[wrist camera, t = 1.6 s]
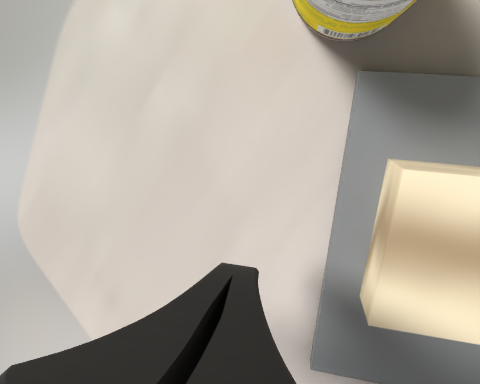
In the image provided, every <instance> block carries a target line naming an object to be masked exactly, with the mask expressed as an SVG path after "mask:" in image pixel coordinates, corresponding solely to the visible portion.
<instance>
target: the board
mask: <svg viewBox="0 0 480 384" xmlns="http://www.w3.org/2000/svg"><path fill="white" fill-rule="evenodd" d="M388 159H398V160H409V161H420V162H431V163H442V164H453V165H464V166H475V167H480V76H462V75H441V74H420V73H399V72H378V71H358V72H357V77H356V83H355V89H354V96H353V102H352V108H351V114H350V120H349V126H348V132H347V138H346V145H345V151H344V157H343V163H342V169H341V175H340V181H339V187H338V193H337V200H336V206H335V212H334V218H333V224H332V230H331V236H330V242H329V249H328V255H327V261H326V267H325V273H324V279H323V285H322V291H321V297H320V304H319V310H318V316H317V322H316V328H315V334H314V340H313V346H312V353H311V359H310V365H311V370H315V371H320V372H325V373H330V374H335V375H340V376H345V377H350V378H355V379H360V380H365V381H370V382H375V383H380V384H480V345H478V344H472V343H467V342H461V341H455V340H449V339H444V338H438V337H432V336H426V335H421V334H415V333H409V332H403V331H397V330H392V329H386V328H380V327H374V326H369V325H368V322H367V319H366V316H365V312H364V309H363V305H362V302H361V299H360V291H361V286H362V281H363V276H364V271H365V267H366V262H367V257H368V252H369V247H370V243H371V238H372V233H373V228H374V223H375V218H376V214H377V209H378V204H379V199H380V194H381V190H382V185H383V180H384V175H385V170H386V165H387V161H388Z"/></svg>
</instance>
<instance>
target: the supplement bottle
mask: <svg viewBox="0 0 480 384" xmlns="http://www.w3.org/2000/svg"><path fill="white" fill-rule="evenodd" d="M292 1H293V4H294V6H295V8H296V11H297V13H298V15H299V16H300V18H301V19H302V20H303V22H304V23H305V24H306V25H307V26H308V27H309V28H310V29H311V30H312V31H314V32H315V33H317V34H318V35H320V36H322V37H325V38H328V39H331V40H336V41H354V40H359V39H362V38H365V37H368V36H370V35H373V34H375V33H377V32H378V31H380V30H381V29H383V28H384V27H386V26H387V25H389V24H390V23H391V22H392V21H393V20H395V19H396V18H397V17H398V16H399V15H401V14H402V13H403V12H404V11H405V10H407V9H408V8H409V7H410V6H411V5H412V4H414V3H415V2H416V1H417V0H292Z"/></svg>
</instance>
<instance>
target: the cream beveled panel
mask: <svg viewBox="0 0 480 384" xmlns="http://www.w3.org/2000/svg"><path fill="white" fill-rule="evenodd" d="M360 299H361V302H362V305H363V309H364V312H365V316H366V319H367V322H368V325H369V326H374V327H380V328H386V329H392V330H397V331H403V332H409V333H415V334H421V335H426V336H432V337H438V338H444V339H449V340H455V341H461V342H467V343H472V344H478V345H480V167H475V166H464V165H453V164H442V163H431V162H420V161H409V160H398V159H388V161H387V165H386V170H385V175H384V180H383V185H382V190H381V194H380V199H379V204H378V209H377V214H376V218H375V223H374V228H373V233H372V238H371V243H370V247H369V252H368V257H367V262H366V267H365V271H364V276H363V281H362V286H361V291H360Z"/></svg>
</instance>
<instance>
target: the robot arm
mask: <svg viewBox="0 0 480 384" xmlns="http://www.w3.org/2000/svg"><path fill="white" fill-rule="evenodd" d="M258 275H259V271H258V270H257V269H256V268H253V267H246V266H240V265H233V264H227V263H221V264H220V265H218V266H217V267H216V268H214V269H213V270H212V271H211V272H210V273H208V274H207V275H206V276H205V277H204V278H202V279H201V280H200V281H199V282H197V283H196V284H195V285H193V286H192V287H191V288H190V289H188V290H187V291H186V292H184V293H183V294H181V295H180V296H179V297H177V298H176V299H174V300H173V301H171V302H170V303H168V304H167V305H165V306H164V307H162V308H160V309H159V310H157V311H155V312H153V313H152V314H150V315H148V316H146V317H144V318H142V319H140V320H138V321H137V322H134V323H132V324H130V325H128V326H126V327H123V328H121V329H119V330H117V331H115V332H112V333H110V334H108V335H106V336H103V337H101V338H98V339H95V340H93V341H90V342H88V343H85V344H82V345H79V346H76V347H73V348H71V349H68V350H64V351H61V352H58V353H55V354H51V355H48V356H44V357H41V358H37V359H34V360H30V361H27V362H23V363H19V364H15V365H12V366H10V367H9V368H8V369H7V370H6V371H5V372H4V373H2V374H1V375H0V384H296V382H295V380H294V379H293V377H292V375H291V374H290V372H289V370H288V368H287V367H286V365H285V363H284V361H283V359H282V357H281V355H280V353H279V351H278V349H277V346H276V344H275V342H274V340H273V337H272V335H271V332H270V329H269V327H268V324H267V321H266V318H265V315H264V311H263V308H262V303H261V299H260V295H259V289H258Z"/></svg>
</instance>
